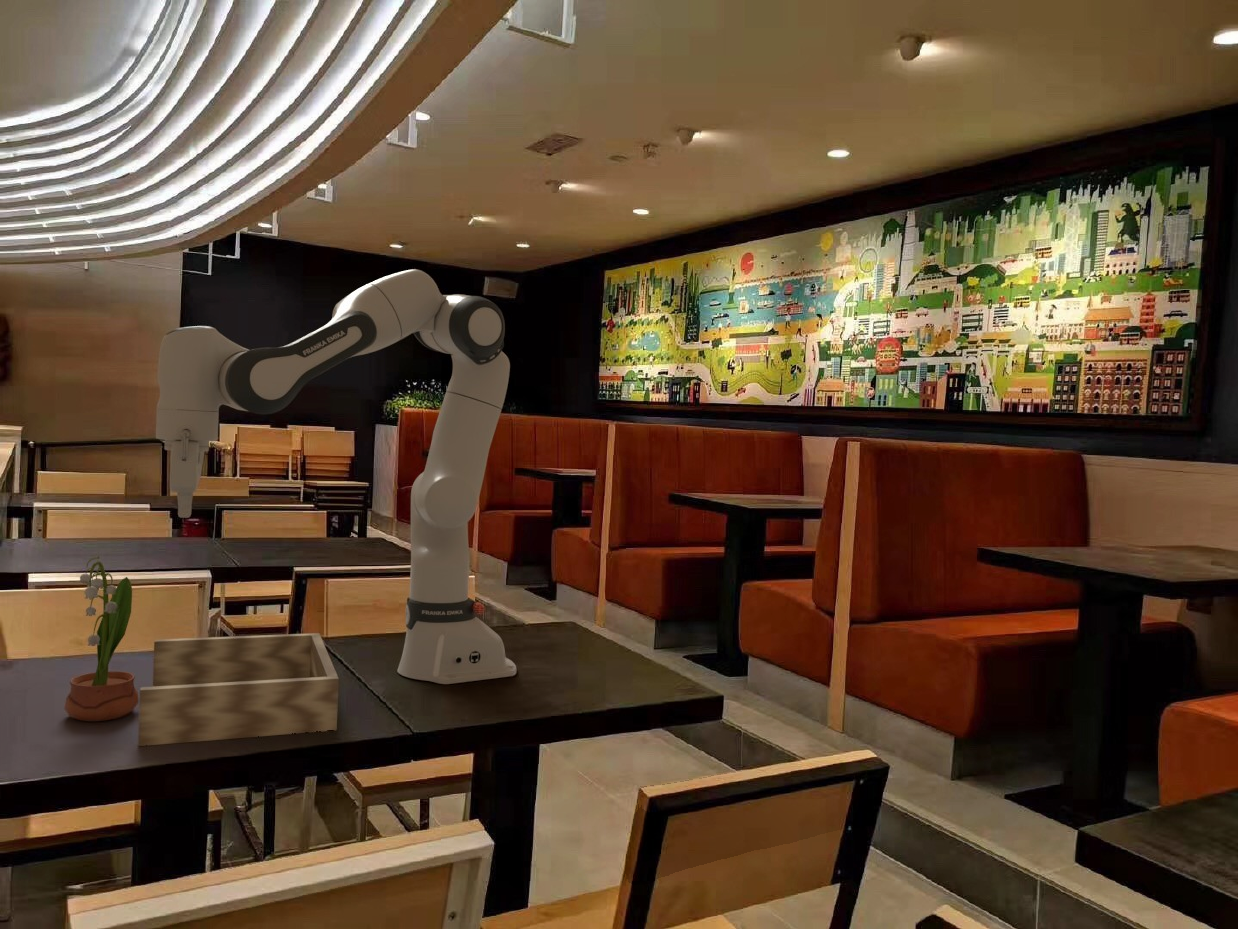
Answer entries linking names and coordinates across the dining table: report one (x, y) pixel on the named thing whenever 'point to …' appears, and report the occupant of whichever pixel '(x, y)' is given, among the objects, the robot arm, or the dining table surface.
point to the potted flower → (104, 655)
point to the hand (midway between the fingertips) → (184, 516)
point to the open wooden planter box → (238, 688)
